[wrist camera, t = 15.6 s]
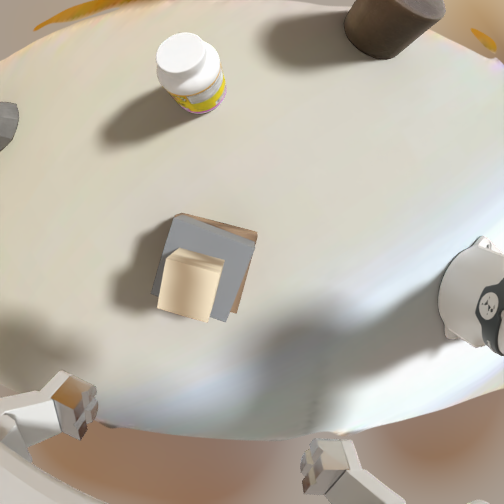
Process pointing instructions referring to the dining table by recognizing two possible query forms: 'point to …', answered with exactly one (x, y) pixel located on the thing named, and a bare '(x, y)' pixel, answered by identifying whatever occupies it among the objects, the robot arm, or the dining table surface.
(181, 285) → the birch block
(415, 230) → the dining table surface
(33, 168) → the dining table surface
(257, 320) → the dining table surface
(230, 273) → the tower top
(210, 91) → the supplement bottle
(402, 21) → the pillar candle
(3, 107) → the coffeepot
